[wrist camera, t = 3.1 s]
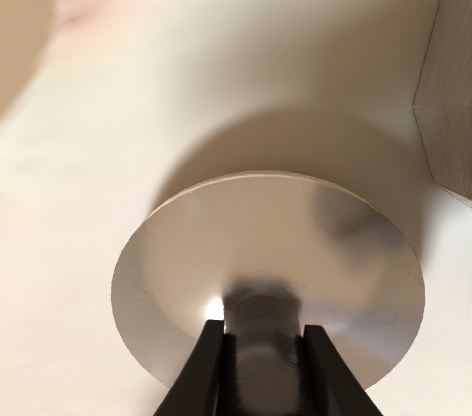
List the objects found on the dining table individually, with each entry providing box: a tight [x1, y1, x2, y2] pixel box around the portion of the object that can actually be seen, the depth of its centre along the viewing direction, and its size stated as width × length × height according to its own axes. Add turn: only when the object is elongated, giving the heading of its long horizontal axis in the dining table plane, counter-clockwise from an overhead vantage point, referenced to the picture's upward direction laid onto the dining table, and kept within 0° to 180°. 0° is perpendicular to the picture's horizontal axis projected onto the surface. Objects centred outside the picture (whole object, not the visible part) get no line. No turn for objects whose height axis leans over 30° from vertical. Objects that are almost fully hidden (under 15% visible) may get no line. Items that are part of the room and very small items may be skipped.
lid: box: [111, 170, 425, 416], centre depth 10 cm, size 13×13×6 cm
